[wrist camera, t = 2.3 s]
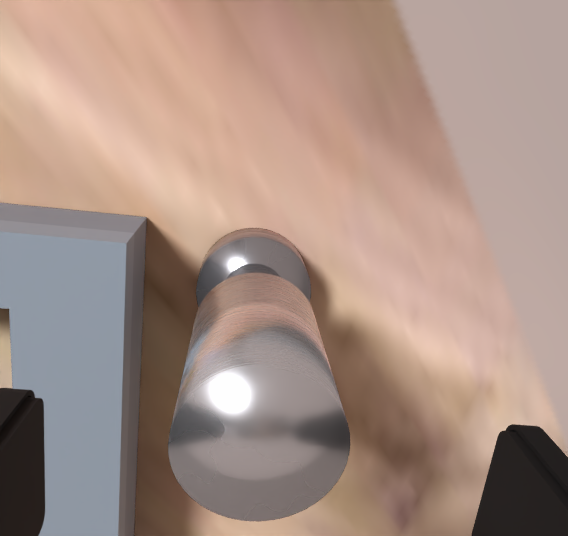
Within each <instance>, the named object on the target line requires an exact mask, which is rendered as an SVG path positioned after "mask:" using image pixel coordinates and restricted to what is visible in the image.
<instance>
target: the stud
mask: <svg viewBox="0 0 568 536" xmlns="http://www.w3.org/2000/svg"><path fill="white" fill-rule="evenodd" d="M196 297H197V303H198V307H199V308H198V311H197V314H196V317H195V321H194V326H193V330H192V335H191V339H190V344H189V348H188V353H187V357H186V362H185V366H184V371H183V375H182V380H181V384H180V389H179V393H178V398H177V402H176V407H175V411H174V416H173V420H172V425H171V429H170V434H169V441H168V454H169V460H170V465H171V468H172V470H173V473H174V475H175V477H176V479H177V481H178V483H179V484H180V485H181V487H182V488H183V490H184V491H185V492H186V493H187V494H188V495H189V496H190V497H191V498H192V499H193V500H195V501H196V502H197V503H198V504H200V505H201V506H203V507H205V508H206V509H208V510H210V511H212V512H214V513H216V514H219V515H222V516H225V517H228V518H232V519H237V520H244V521H268V520H275V519H280V518H284V517H287V516H290V515H293V514H296V513H298V512H300V511H303V510H305V509H307V508H308V507H310V506H312V505H313V504H315V503H316V502H318V501H319V500H320V499H321V498H323V497H324V496H325V495H326V494H327V493H328V492H329V491H330V490H331V489H332V488H333V486H334V485H335V484H336V483H337V481H338V480H339V478H340V476H341V475H342V473H343V471H344V468H345V466H346V464H347V460H348V456H349V451H350V432H349V427H348V423H347V420H346V416H345V413H344V410H343V407H342V403H341V400H340V397H339V394H338V390H337V387H336V384H335V380H334V377H333V374H332V371H331V367H330V364H329V361H328V357H327V354H326V351H325V348H324V344H323V341H322V338H321V335H320V331H319V328H318V325H317V321H316V318H315V315H314V312H313V309H312V306H311V305H310V298H311V284H310V279H309V276H308V273H307V270H306V267H305V264H304V261H303V259H302V257H301V255H300V253H299V251H298V250H297V249H296V247H295V246H294V245H293V244H292V243H291V242H290V241H289V240H287V239H286V238H285V237H283V236H281V235H280V234H278V233H275V232H273V231H270V230H267V229H261V228H246V229H241V230H237V231H234V232H231V233H229V234H227V235H225V236H224V237H222V238H221V239H219V240H218V241H217V242H216V243H215V244H214V245H213V246H212V247H211V248H210V249H209V251H208V252H207V254H206V256H205V258H204V260H203V262H202V266H201V269H200V273H199V277H198V281H197V287H196Z"/></svg>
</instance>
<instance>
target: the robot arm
mask: <svg viewBox="0 0 568 536" xmlns="http://www.w3.org/2000/svg"><path fill="white" fill-rule="evenodd" d="M44 518H45V452H44V402H43V399H41V398H35V394H34V392H33V391H32V390H25V389H11V388H0V536H39V534H40V531H41V529H42V526H43V522H44ZM472 536H568V457H567V456H566V455H565V454H564V453H563V452H562V450H561V449H560V448H559V447H558V446H557V445H556V444H555V443H554V442H553V440H552V439H551V438H550V437H549V436H548V435H547V434H546V433H545V431H544V430H543V429H541V428H540V427H537V426H526V425H510V426H508V428H507V429H506V431H502V432H500V433H499V435H498V438H497V442H496V445H495V449H494V453H493V457H492V460H491V464H490V468H489V472H488V475H487V479H486V483H485V486H484V490H483V494H482V498H481V501H480V505H479V509H478V513H477V516H476V520H475V524H474V527H473V531H472Z"/></svg>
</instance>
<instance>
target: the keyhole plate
mask: <svg viewBox="0 0 568 536" xmlns="http://www.w3.org/2000/svg"><path fill="white" fill-rule="evenodd" d="M146 224H147V217H139V216H129V215H119V214H109V213H99V212H89V211H79V210H68V209H58V208H48V207H38V206H28V205H18V204H8V203H0V308H4V309H9V318H10V340H11V363H12V386H13V389H25V390H32V391H33V392H34V394H35V398H41V399H43V402H44V452H45V518H44V522H43V526H42V529H41V531H40V534H39V536H134V525H135V500H136V475H137V450H138V425H139V400H140V375H141V350H142V324H143V299H144V274H145V249H146Z"/></svg>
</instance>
